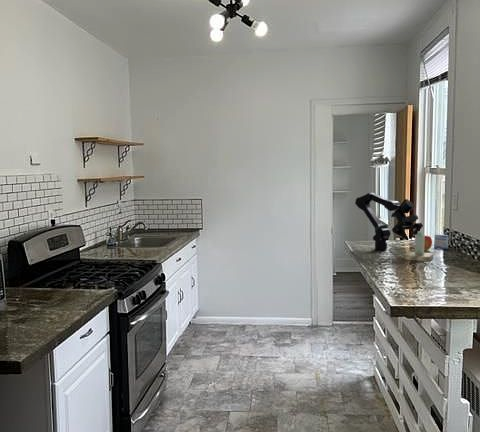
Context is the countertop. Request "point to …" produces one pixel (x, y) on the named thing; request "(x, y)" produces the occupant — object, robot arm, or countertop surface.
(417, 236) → the sage bottle
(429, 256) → the birch pad
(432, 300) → the countertop surface
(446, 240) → the medicine box
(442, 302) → the countertop surface
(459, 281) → the countertop surface
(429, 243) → the apple
